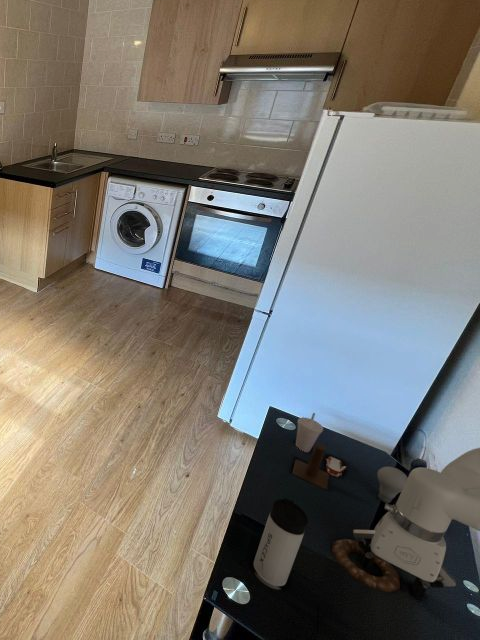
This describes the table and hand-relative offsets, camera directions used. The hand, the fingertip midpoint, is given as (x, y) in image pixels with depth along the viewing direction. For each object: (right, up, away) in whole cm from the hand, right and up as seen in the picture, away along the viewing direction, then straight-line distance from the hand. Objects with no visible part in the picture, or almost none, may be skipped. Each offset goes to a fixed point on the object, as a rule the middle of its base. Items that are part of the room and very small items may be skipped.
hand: (389, 580), depth 93 cm
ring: (-3, +2, +3) cm, 4 cm away
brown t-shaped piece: (+6, +8, +29) cm, 31 cm away
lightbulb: (+21, +5, +21) cm, 30 cm away
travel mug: (-27, 0, +1) cm, 27 cm away
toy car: (+16, +9, +32) cm, 37 cm away
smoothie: (+13, +11, +40) cm, 44 cm away
